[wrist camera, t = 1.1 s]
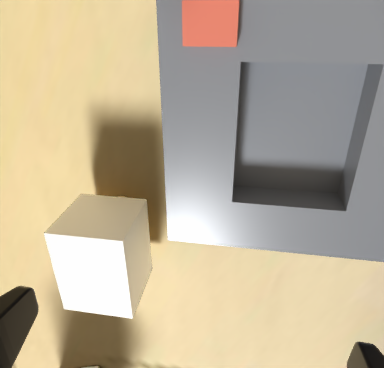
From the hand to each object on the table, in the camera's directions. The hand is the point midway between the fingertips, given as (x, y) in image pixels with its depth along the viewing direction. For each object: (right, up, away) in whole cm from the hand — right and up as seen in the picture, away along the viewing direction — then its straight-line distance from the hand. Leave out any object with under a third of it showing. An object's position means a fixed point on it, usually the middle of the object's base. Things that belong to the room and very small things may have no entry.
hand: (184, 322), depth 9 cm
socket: (+6, +7, +10) cm, 14 cm away
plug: (-5, +1, +15) cm, 16 cm away
